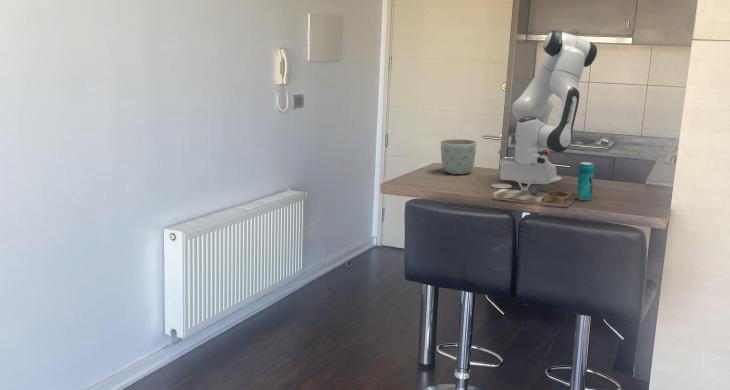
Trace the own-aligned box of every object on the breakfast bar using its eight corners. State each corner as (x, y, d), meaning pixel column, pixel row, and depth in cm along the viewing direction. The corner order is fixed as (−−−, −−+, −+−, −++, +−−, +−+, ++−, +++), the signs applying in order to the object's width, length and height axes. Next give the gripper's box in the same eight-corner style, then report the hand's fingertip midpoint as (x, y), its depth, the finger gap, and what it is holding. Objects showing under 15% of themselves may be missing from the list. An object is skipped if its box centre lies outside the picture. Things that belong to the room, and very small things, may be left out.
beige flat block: (492, 199, 292) (493, 193, 292) (501, 194, 301) (501, 188, 300) (541, 204, 283) (541, 198, 282) (548, 199, 291) (548, 193, 290)
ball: (531, 184, 291) (540, 190, 290) (526, 192, 291) (534, 197, 290) (533, 181, 287) (541, 187, 286) (527, 189, 287) (535, 195, 286)
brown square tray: (541, 204, 283) (541, 195, 282) (548, 199, 291) (548, 190, 290) (566, 207, 278) (567, 197, 277) (573, 202, 286) (573, 192, 285)
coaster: (499, 183, 321) (499, 182, 321) (515, 187, 314) (515, 185, 314) (486, 186, 315) (486, 185, 315) (503, 190, 308) (503, 188, 308)
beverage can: (589, 201, 287) (591, 164, 284) (575, 200, 290) (577, 163, 287) (593, 198, 292) (595, 162, 288) (579, 197, 295) (581, 161, 291)
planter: (466, 177, 334) (466, 145, 331) (433, 174, 343) (434, 142, 340) (481, 171, 348) (482, 140, 345) (449, 168, 357) (450, 138, 354)
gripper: (499, 158, 286) (498, 191, 289) (552, 159, 282) (550, 194, 285) (499, 155, 292) (498, 188, 295) (551, 157, 288) (549, 190, 291)
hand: (524, 191), depth 290 cm, fingers closed
